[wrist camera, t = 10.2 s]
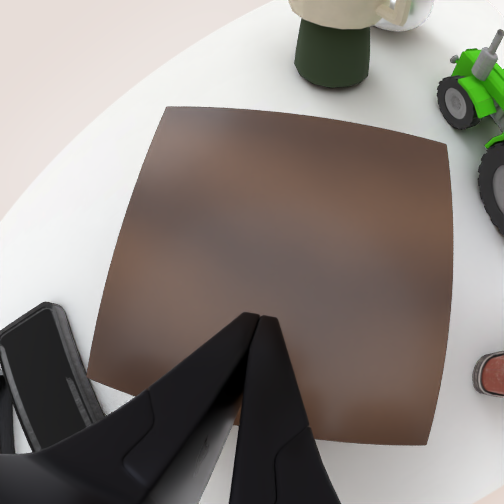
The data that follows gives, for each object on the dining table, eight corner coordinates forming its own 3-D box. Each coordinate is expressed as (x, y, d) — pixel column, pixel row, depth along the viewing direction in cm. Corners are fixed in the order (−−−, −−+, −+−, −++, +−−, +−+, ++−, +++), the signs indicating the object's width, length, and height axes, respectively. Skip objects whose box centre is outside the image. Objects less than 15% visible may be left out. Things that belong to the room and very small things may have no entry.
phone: (64, 511, 15) (-8, 335, 19) (72, 506, 16) (2, 336, 20) (141, 499, 15) (52, 295, 19) (147, 493, 16) (61, 298, 20)
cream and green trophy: (404, 88, 23) (444, -38, 10) (353, 126, 22) (385, -28, 10) (313, 29, 26) (313, -85, 13) (257, 57, 25) (239, -71, 13)
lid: (171, 116, 14) (166, 105, 13) (440, 153, 12) (446, 143, 12) (96, 376, 11) (85, 377, 10) (418, 440, 9) (426, 445, 9)
